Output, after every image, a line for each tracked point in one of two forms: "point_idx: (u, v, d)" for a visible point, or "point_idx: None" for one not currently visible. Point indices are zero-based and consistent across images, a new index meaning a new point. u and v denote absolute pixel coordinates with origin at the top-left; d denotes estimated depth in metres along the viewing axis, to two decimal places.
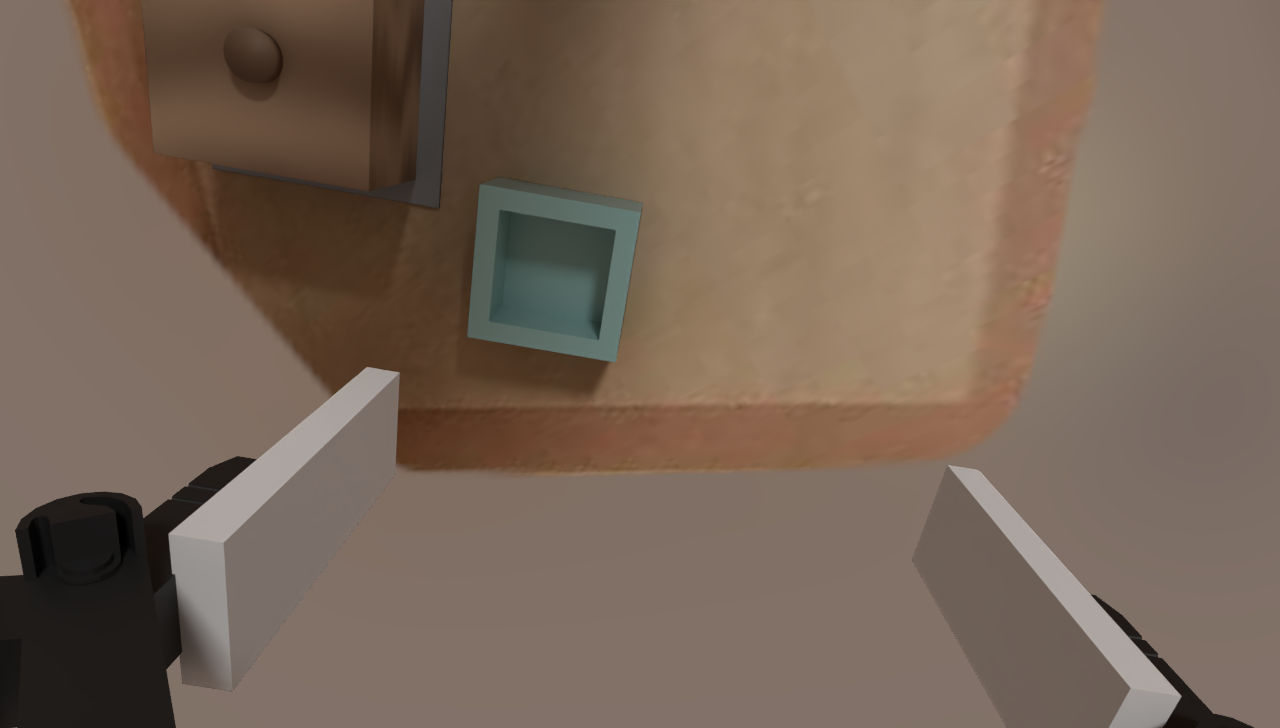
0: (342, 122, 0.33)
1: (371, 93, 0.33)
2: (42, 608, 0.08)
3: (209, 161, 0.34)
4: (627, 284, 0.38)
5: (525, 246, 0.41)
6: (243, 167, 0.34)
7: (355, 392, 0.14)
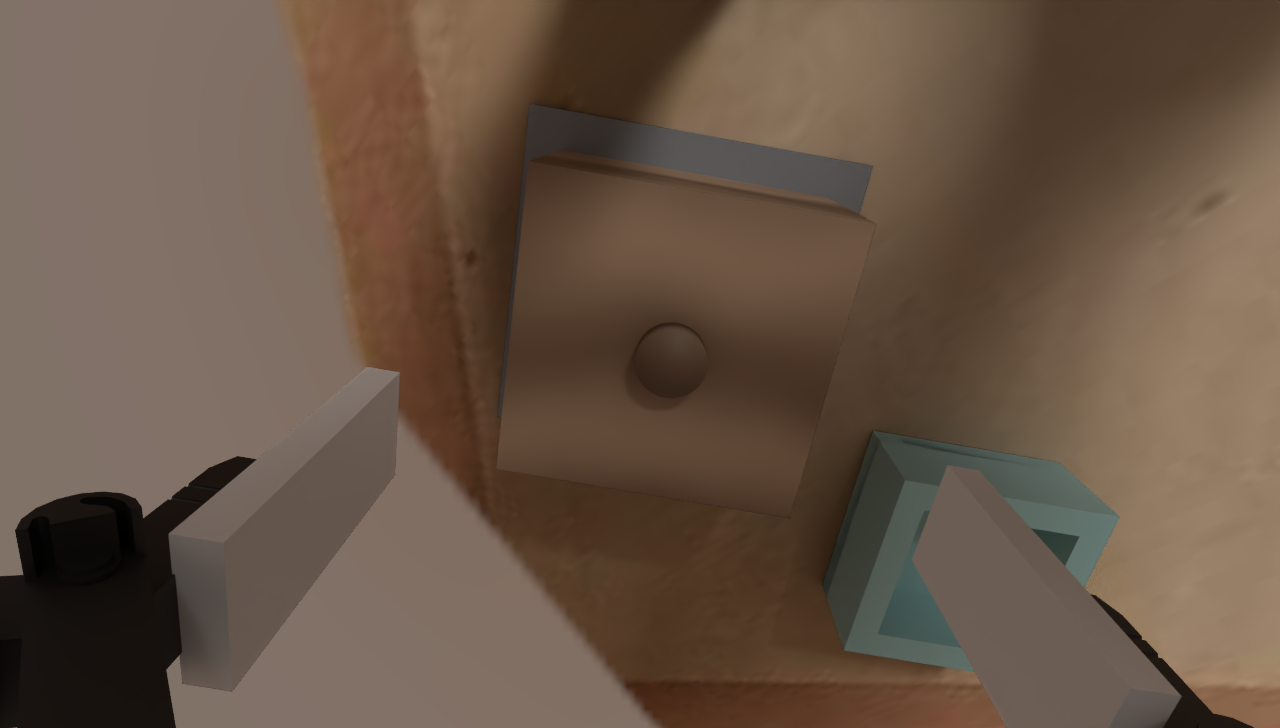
0: (773, 438, 0.24)
1: (822, 403, 0.23)
2: (42, 608, 0.08)
3: (572, 479, 0.25)
4: None
5: None
6: (619, 487, 0.25)
7: (355, 392, 0.14)
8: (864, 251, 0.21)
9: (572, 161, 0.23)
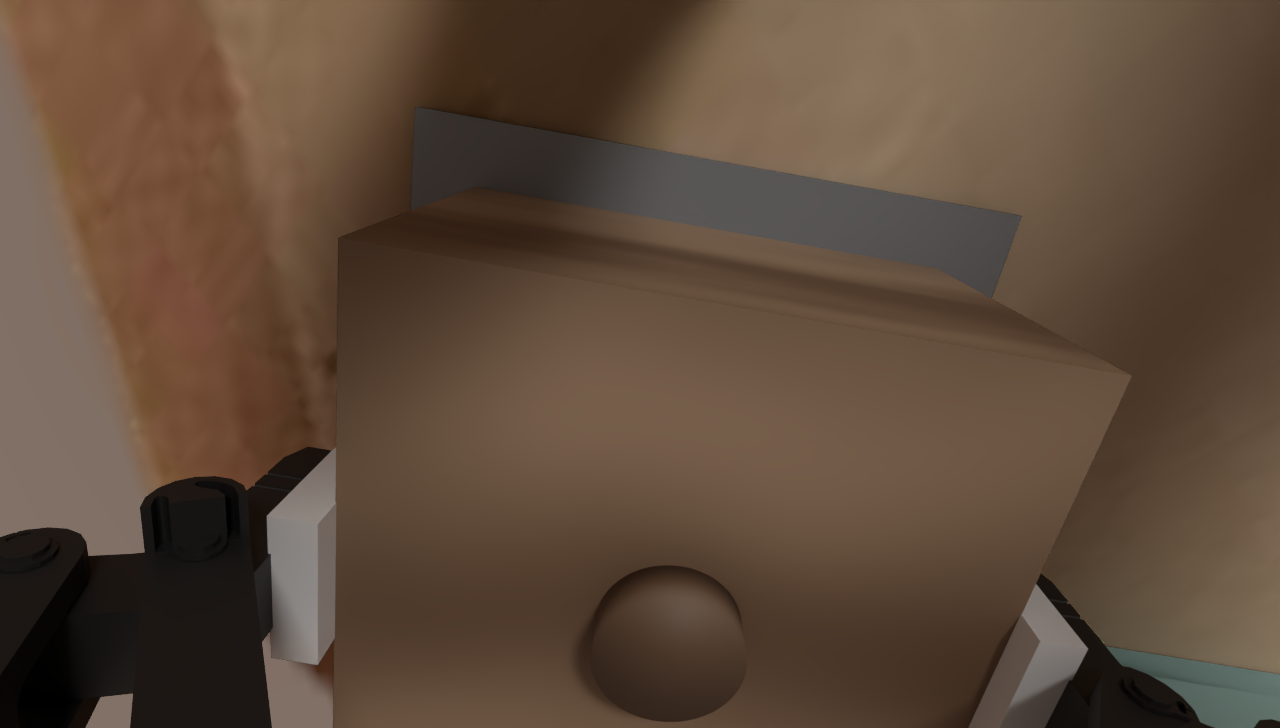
0: None
1: (974, 709, 0.11)
2: (158, 581, 0.08)
3: None
4: None
5: None
6: None
7: None
8: (1096, 431, 0.10)
9: (467, 222, 0.11)
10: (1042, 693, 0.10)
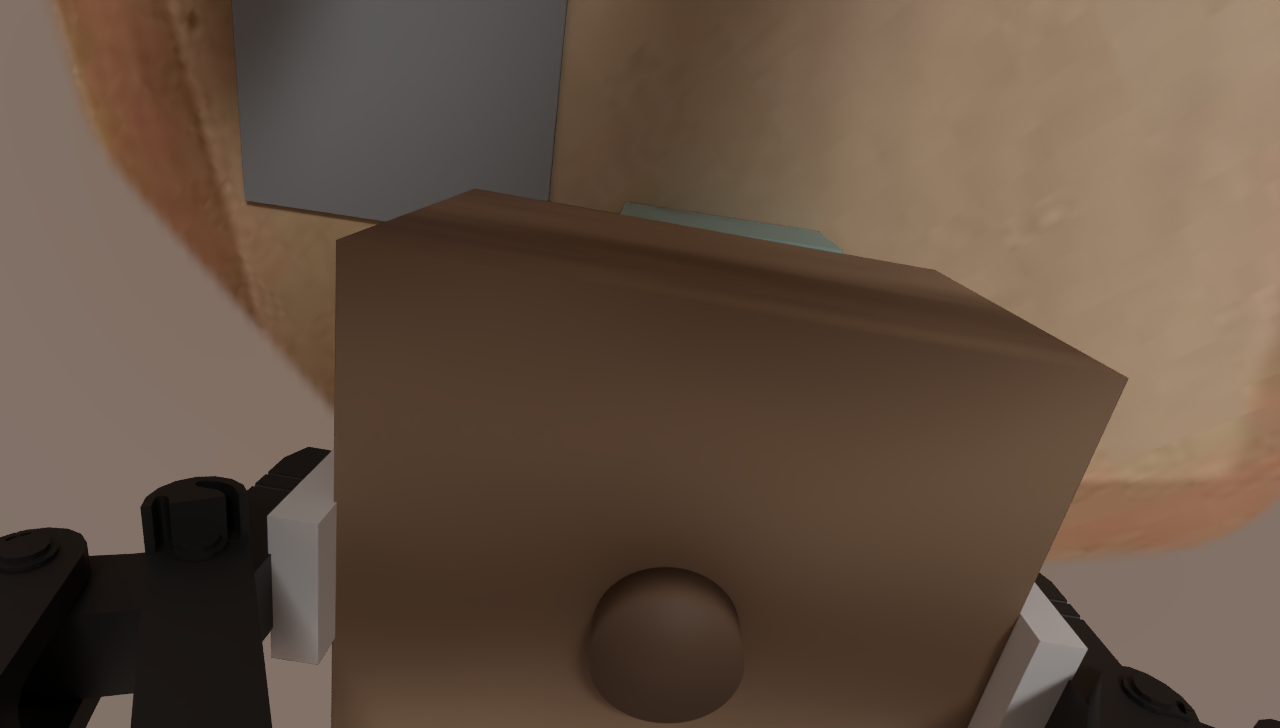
0: None
1: (972, 711, 0.11)
2: (158, 581, 0.08)
3: None
4: None
5: None
6: None
7: None
8: (1092, 433, 0.10)
9: (465, 224, 0.11)
10: (1042, 693, 0.10)
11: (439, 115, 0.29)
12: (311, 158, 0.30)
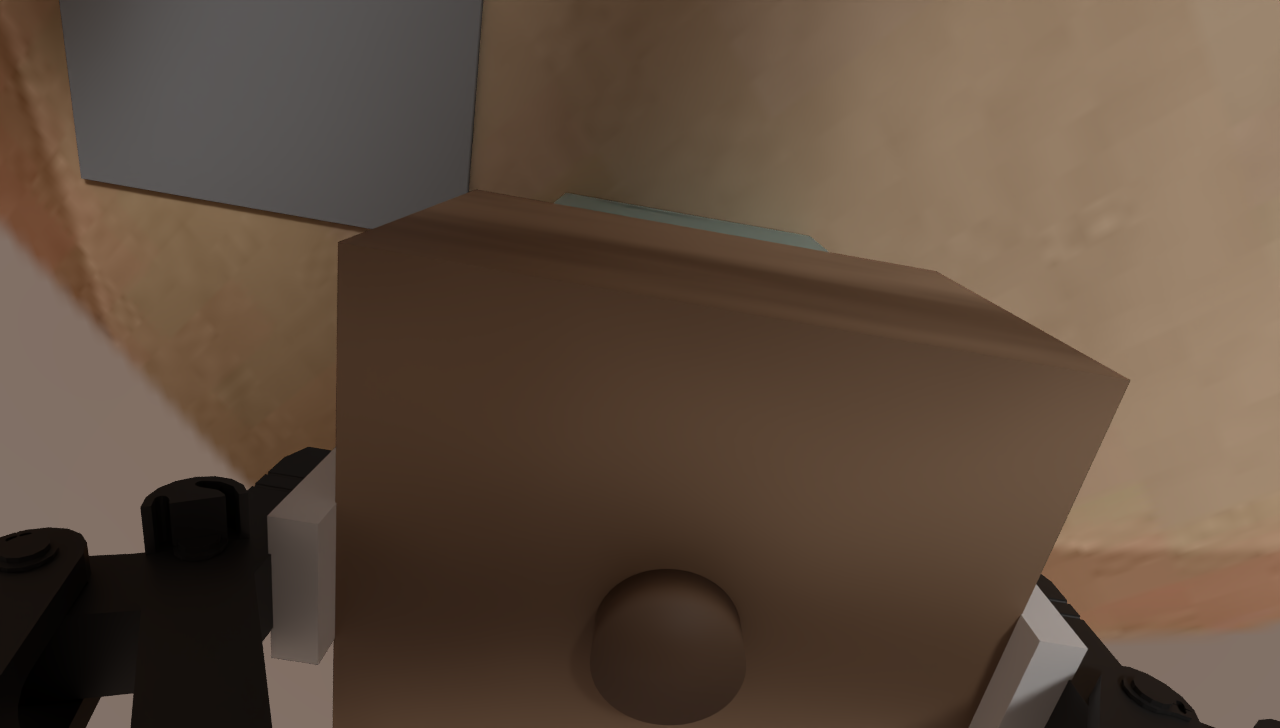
0: None
1: (973, 713, 0.11)
2: (158, 581, 0.08)
3: None
4: None
5: None
6: None
7: None
8: (1093, 435, 0.10)
9: (467, 226, 0.11)
10: (1042, 693, 0.10)
11: (325, 74, 0.23)
12: (163, 126, 0.24)
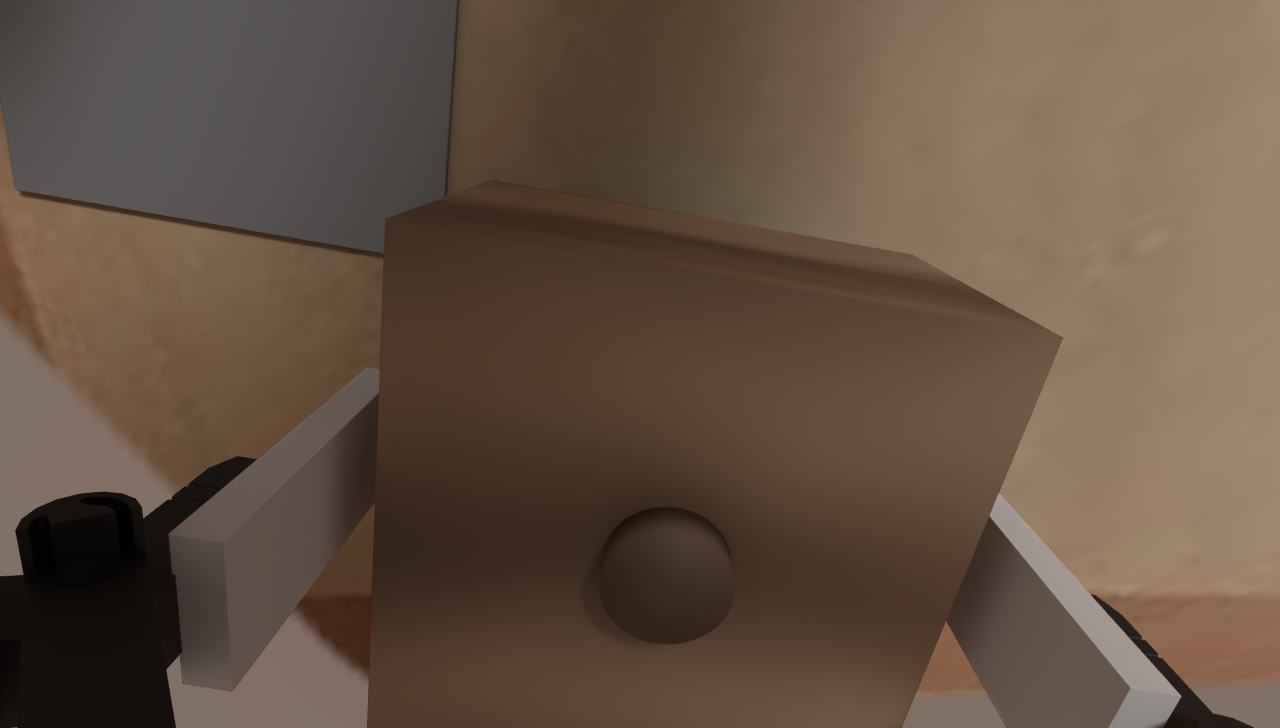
0: (847, 690, 0.13)
1: (936, 638, 0.13)
2: (42, 608, 0.08)
3: None
4: None
5: None
6: None
7: (355, 392, 0.14)
8: (1034, 386, 0.11)
9: (490, 209, 0.13)
10: None
11: (284, 74, 0.20)
12: (104, 131, 0.21)
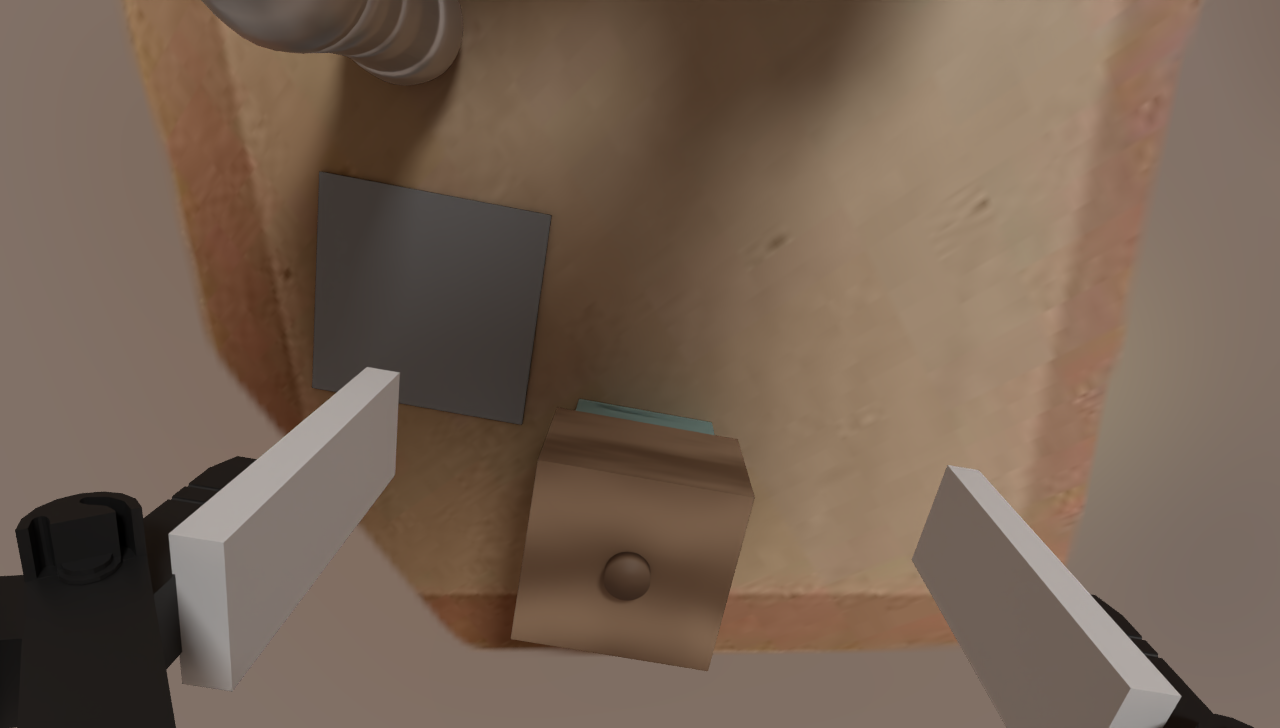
0: (695, 621, 0.36)
1: (726, 600, 0.35)
2: (41, 608, 0.08)
3: (562, 645, 0.36)
4: None
5: None
6: (593, 651, 0.37)
7: (355, 392, 0.14)
8: (747, 512, 0.34)
9: (564, 441, 0.35)
10: None
11: (453, 340, 0.43)
12: (362, 363, 0.44)
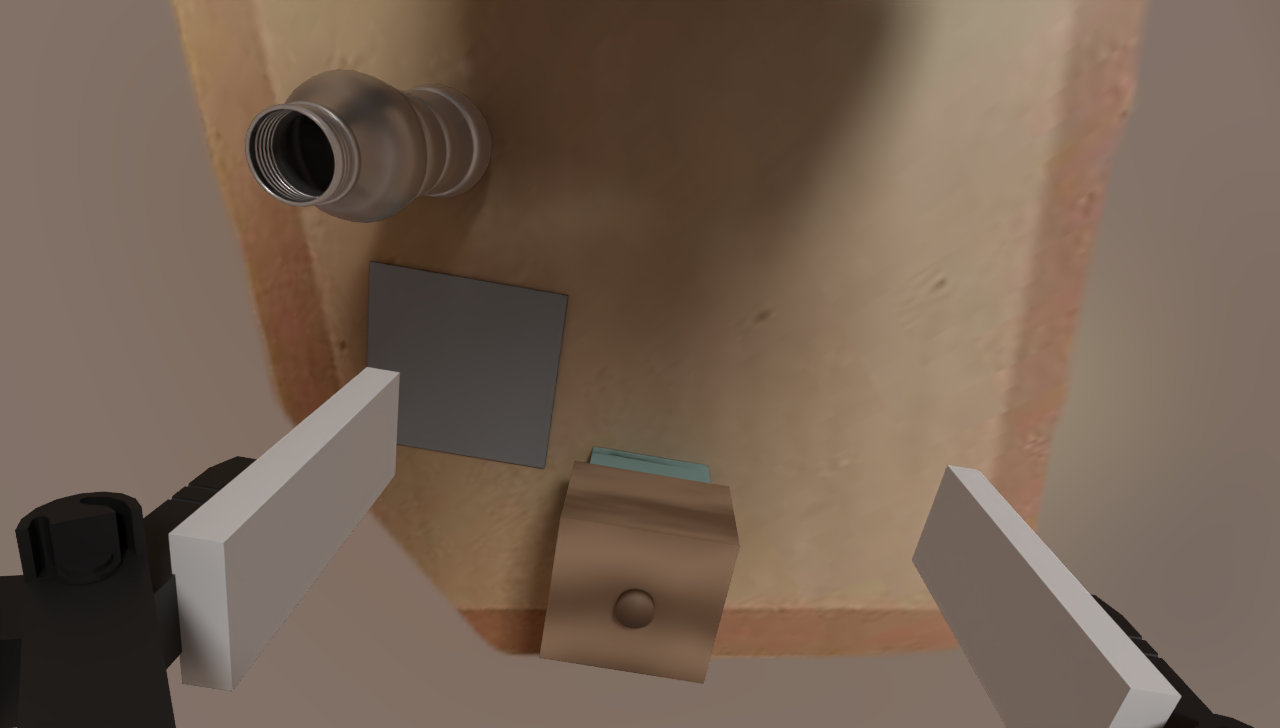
0: (692, 643, 0.43)
1: None
2: (42, 608, 0.08)
3: (581, 663, 0.44)
4: None
5: None
6: (608, 667, 0.44)
7: (355, 392, 0.14)
8: (734, 558, 0.41)
9: (582, 496, 0.43)
10: None
11: (484, 399, 0.50)
12: (407, 418, 0.51)
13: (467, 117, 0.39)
